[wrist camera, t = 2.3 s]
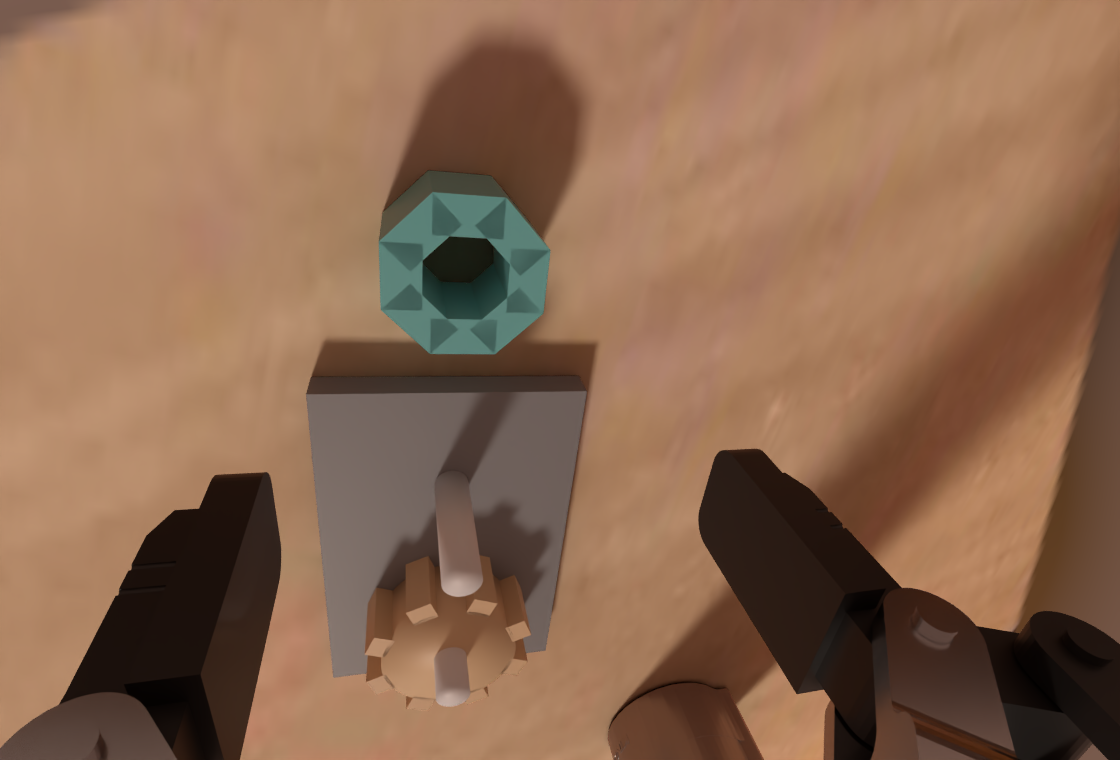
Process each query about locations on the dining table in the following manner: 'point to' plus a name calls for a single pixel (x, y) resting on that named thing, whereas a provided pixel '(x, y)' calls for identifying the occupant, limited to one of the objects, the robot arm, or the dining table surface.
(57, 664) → the dining table surface
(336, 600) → the gear board
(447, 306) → the hollow teal octagon tube
